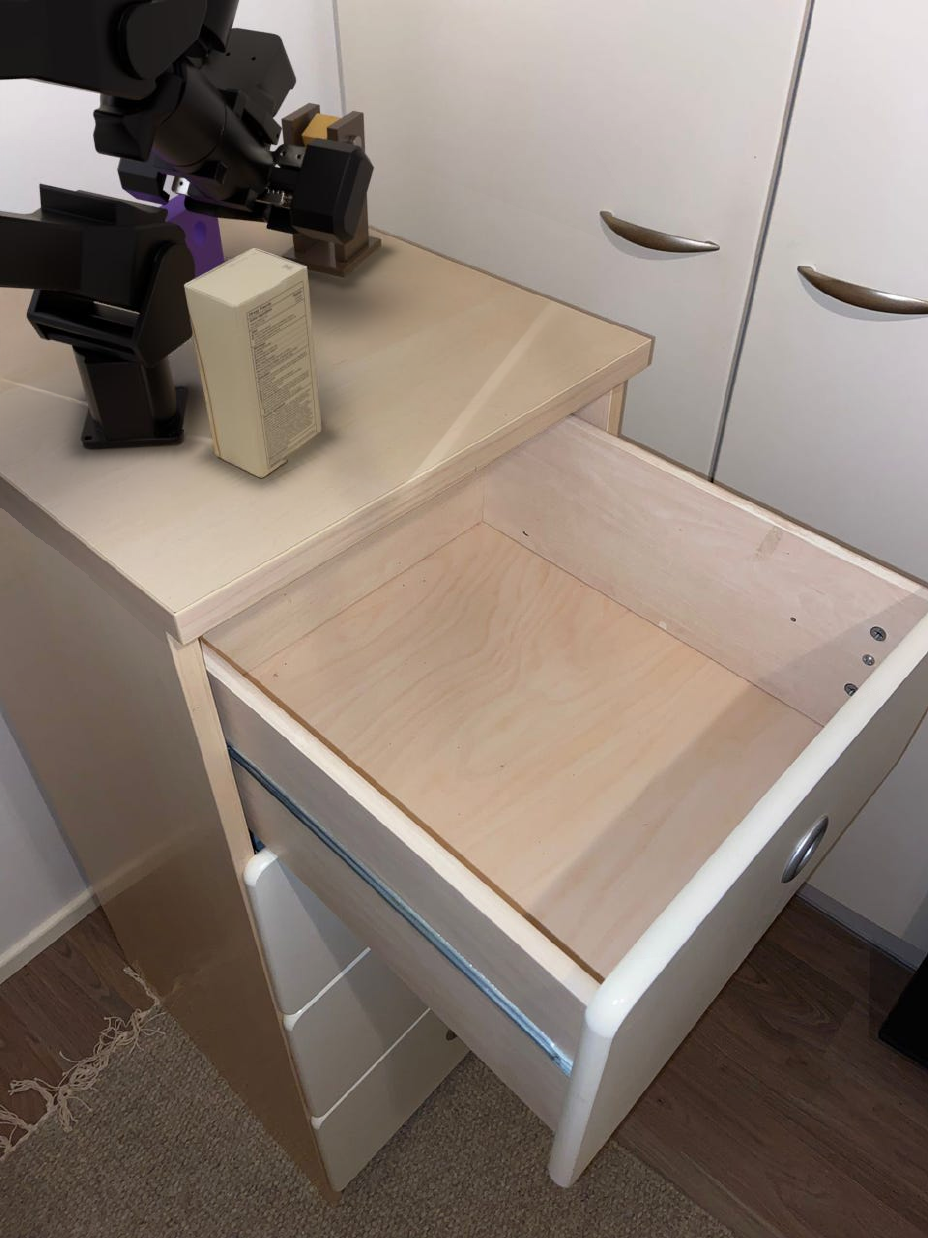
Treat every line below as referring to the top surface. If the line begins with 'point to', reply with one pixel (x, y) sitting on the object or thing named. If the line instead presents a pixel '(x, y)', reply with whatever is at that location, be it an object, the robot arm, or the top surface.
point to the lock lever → (313, 131)
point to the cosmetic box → (256, 358)
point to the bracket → (197, 235)
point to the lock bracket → (350, 255)
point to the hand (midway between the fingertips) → (293, 220)
